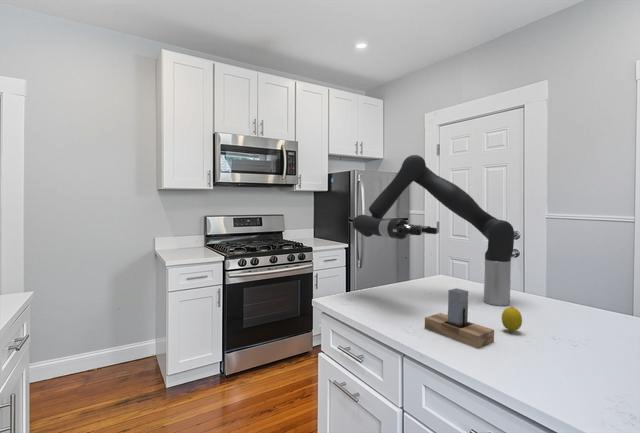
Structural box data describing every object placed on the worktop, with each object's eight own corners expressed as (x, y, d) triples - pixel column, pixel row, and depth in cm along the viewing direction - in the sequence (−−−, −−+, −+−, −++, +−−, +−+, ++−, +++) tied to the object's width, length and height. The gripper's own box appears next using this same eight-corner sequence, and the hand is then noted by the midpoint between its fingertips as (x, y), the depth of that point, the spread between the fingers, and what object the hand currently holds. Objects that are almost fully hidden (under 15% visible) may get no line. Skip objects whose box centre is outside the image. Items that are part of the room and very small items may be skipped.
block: (455, 326, 106) (456, 288, 106) (467, 330, 103) (468, 291, 102) (447, 329, 104) (448, 290, 103) (459, 333, 101) (460, 293, 100)
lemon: (524, 336, 103) (525, 309, 102) (504, 334, 104) (505, 308, 103) (517, 329, 108) (518, 304, 108) (498, 328, 109) (499, 303, 109)
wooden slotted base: (440, 323, 113) (440, 312, 113) (493, 341, 98) (494, 329, 98) (424, 328, 108) (424, 317, 108) (478, 348, 94) (478, 335, 94)
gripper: (380, 219, 126) (415, 221, 113) (406, 218, 135) (441, 220, 121) (379, 239, 127) (414, 243, 113) (406, 237, 135) (441, 241, 122)
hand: (428, 231), depth 117 cm, fingers open, 8 cm apart
